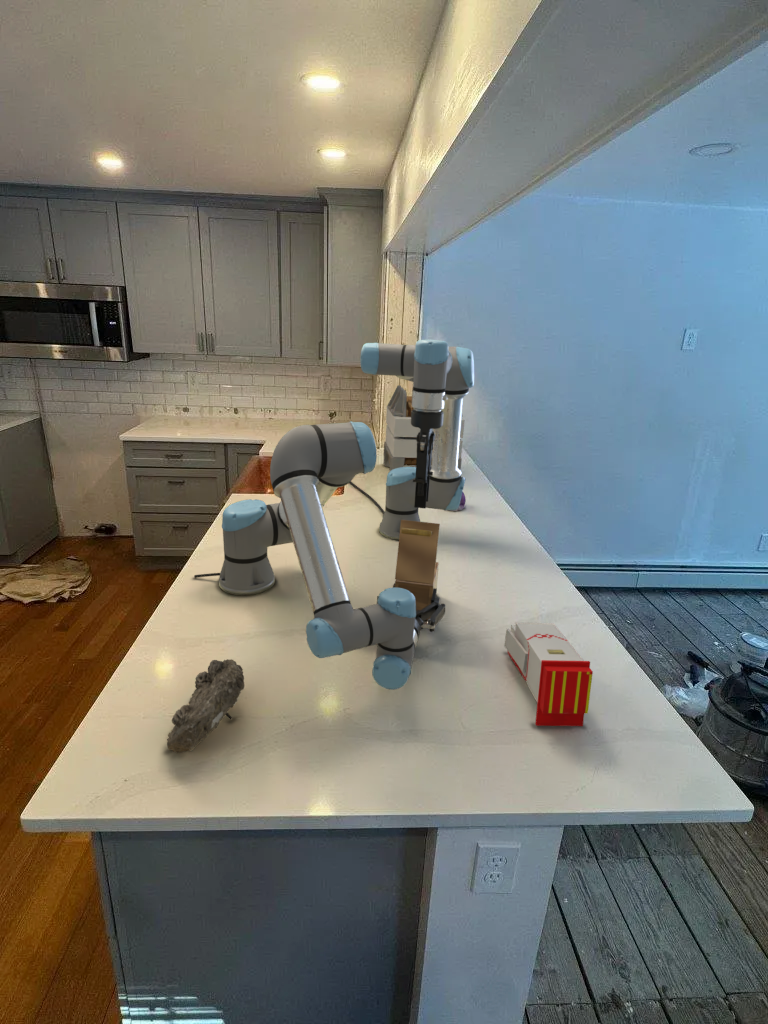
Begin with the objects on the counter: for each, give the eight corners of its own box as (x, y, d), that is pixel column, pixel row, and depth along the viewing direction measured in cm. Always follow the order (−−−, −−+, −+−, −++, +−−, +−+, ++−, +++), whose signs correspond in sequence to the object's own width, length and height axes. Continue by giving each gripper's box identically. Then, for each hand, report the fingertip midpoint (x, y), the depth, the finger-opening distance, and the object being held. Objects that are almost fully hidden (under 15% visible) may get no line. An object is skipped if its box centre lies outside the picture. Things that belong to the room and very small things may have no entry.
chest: (401, 590, 160) (403, 558, 157) (436, 594, 158) (438, 562, 155) (393, 615, 147) (395, 581, 143) (430, 620, 145) (433, 586, 142)
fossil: (192, 660, 117) (244, 628, 112) (224, 691, 120) (276, 661, 115) (142, 746, 98) (202, 712, 93) (182, 779, 101) (242, 748, 96)
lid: (401, 519, 143) (397, 519, 135) (439, 523, 142) (437, 524, 133) (395, 578, 144) (390, 582, 135) (433, 583, 142) (430, 587, 133)
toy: (550, 607, 134) (601, 667, 105) (545, 659, 137) (594, 732, 108) (499, 606, 134) (537, 666, 104) (495, 659, 137) (530, 731, 107)
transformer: (382, 463, 289) (386, 382, 275) (445, 464, 293) (451, 384, 279) (390, 482, 257) (394, 392, 243) (460, 483, 261) (468, 394, 247)
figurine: (452, 513, 222) (455, 476, 217) (438, 505, 231) (441, 469, 226) (471, 510, 227) (475, 474, 221) (457, 502, 235) (460, 467, 230)
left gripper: (352, 643, 129) (372, 598, 150) (450, 657, 126) (456, 609, 146) (353, 614, 127) (373, 572, 147) (453, 628, 123) (459, 582, 144)
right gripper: (440, 417, 123) (432, 517, 131) (446, 404, 139) (439, 494, 147) (406, 415, 124) (400, 514, 132) (416, 402, 140) (411, 491, 148)
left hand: (415, 590), depth 147 cm, fingers closed on chest, 10 cm apart
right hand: (421, 503), depth 140 cm, fingers open, 4 cm apart
